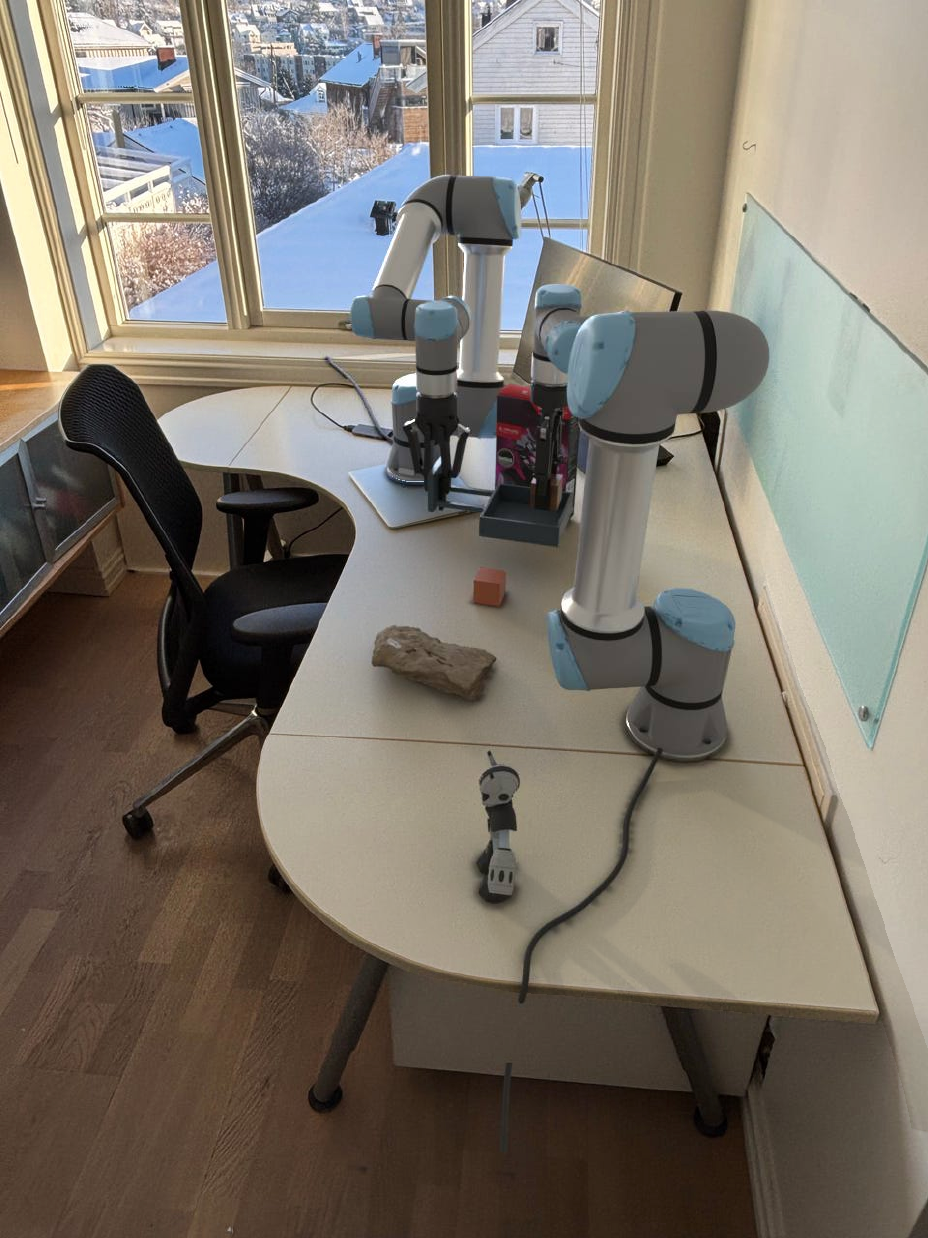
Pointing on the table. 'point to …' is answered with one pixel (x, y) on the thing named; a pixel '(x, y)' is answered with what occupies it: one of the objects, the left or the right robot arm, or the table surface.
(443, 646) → the stone
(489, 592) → the terracotta cube
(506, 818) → the robot
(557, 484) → the walnut cube
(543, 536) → the tray
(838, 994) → the table surface
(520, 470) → the graphics card box
